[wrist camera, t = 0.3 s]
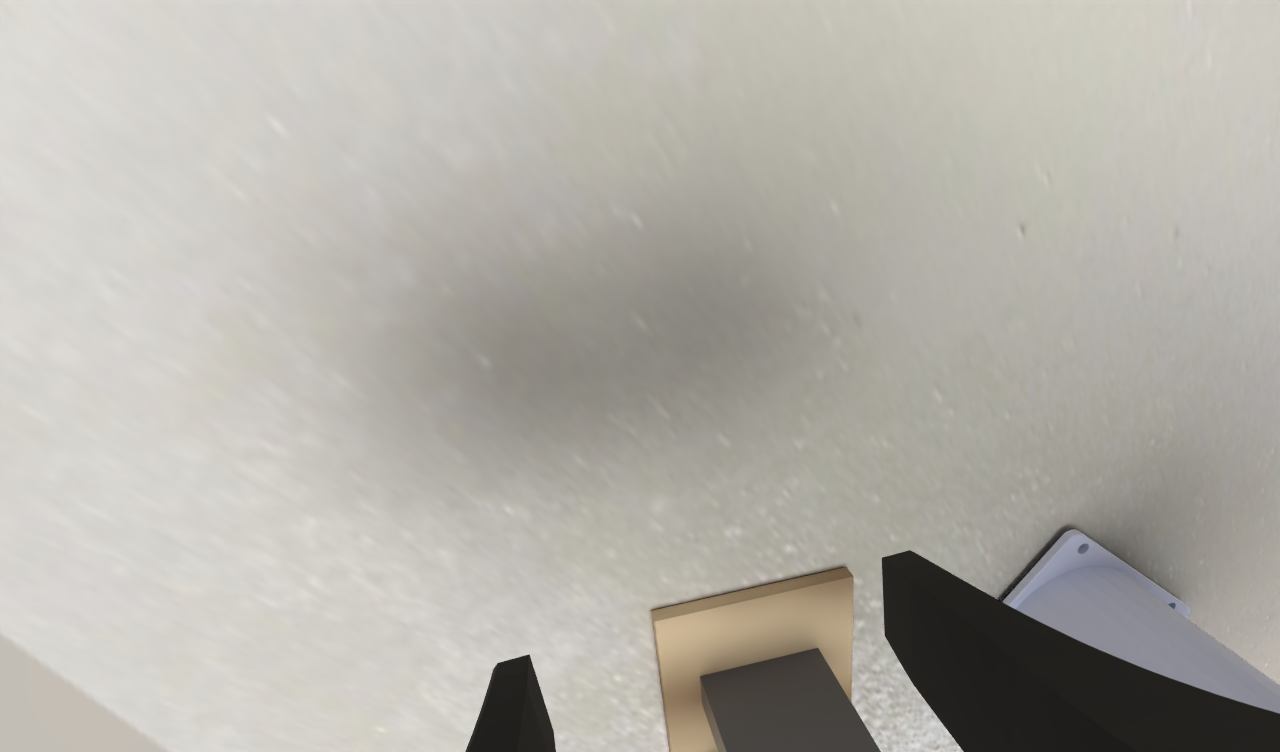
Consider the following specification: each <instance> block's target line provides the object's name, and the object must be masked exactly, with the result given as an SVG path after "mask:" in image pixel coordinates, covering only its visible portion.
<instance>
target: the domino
mask: <svg viewBox="0 0 1280 752" xmlns="http://www.w3.org/2000/svg"><path fill="white" fill-rule="evenodd" d="M700 683H701V693H702V703H703V708H704V711H705V714H706V717H707V720H708V723H709V726H710V729H711V731H712V734H713V737H714V740H715V743H716V746H717V749H718V752H880V750H879V748H878V747H877V745H876V743H875V742H874V740H873V738H872V737H871V735H870V733H869V732H868V730H867V728H866V727H865V725H864V723H863V722H862V720H861V718H860V717H859V715H858V713H857V712H856V710H855V708H854V707H853V705H852V703H851V702H850V700H849V698H848V697H847V695H846V693H845V692H844V690H843V688H842V687H841V685H840V683H839V682H838V680H837V678H836V677H835V675H834V673H833V672H832V670H831V668H830V667H829V665H828V663H827V662H826V660H825V658H824V657H823V655H822V653H821V652H820V650H819V648H814V649H810V650H806V651H802V652H798V653H794V654H790V655H785V656H781V657H777V658H773V659H769V660H765V661H761V662H756V663H752V664H748V665H744V666H740V667H736V668H732V669H727V670H723V671H719V672H715V673H711V674H707V675H703V676H700Z"/></svg>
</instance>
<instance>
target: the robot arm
mask: <svg viewBox="0 0 1280 752" xmlns="http://www.w3.org/2000/svg"><path fill="white" fill-rule="evenodd" d="M882 574H883V600H884V625H885V637H886V638H887V640H888V642H889V644H890V645H891V647H892V649H893V651H894V652H895V654H896V656H897V658H898V660H899V661H900V663H901V665H902V666H903V668H904V670H905V671H906V673H907V675H908V676H909V678H910V680H911V681H912V683H913V684H914V686H915V687H916V688H917V690H918V691H919V693H920V694H921V695H922V697H923V698H924V699H925V701H926V702H927V703H928V705H929V706H930V707H931V709H932V710H933V711H934V713H935V714H936V715H937V717H938V718H939V719H940V721H941V722H942V723H943V725H944V726H945V727H946V729H947V730H948V731H949V733H950V734H951V735H952V737H953V738H954V739H955V741H956V742H957V743H958V745H959V746H960V747H961V749H962V750H963V751H964V752H1280V685H1279V684H1277V683H1276V682H1275V681H1273V680H1272V679H1270V678H1269V677H1268V676H1266V675H1265V674H1263V673H1262V672H1261V671H1259V670H1258V669H1256V668H1255V667H1254V666H1252V665H1251V664H1249V663H1248V662H1247V661H1245V660H1244V659H1243V658H1241V657H1240V656H1238V655H1237V654H1236V653H1234V652H1233V651H1231V650H1230V649H1229V648H1227V647H1226V646H1224V645H1223V644H1222V643H1220V642H1219V641H1217V640H1216V639H1215V638H1213V637H1212V636H1211V635H1209V634H1208V633H1206V632H1205V631H1204V630H1202V629H1201V628H1199V627H1198V626H1197V625H1195V624H1194V623H1192V622H1191V621H1190V620H1188V619H1187V618H1188V616H1189V615H1190V607H1189V606H1188V605H1186V604H1185V603H1183V602H1182V601H1180V600H1179V599H1177V598H1176V597H1175V596H1173V595H1172V594H1170V593H1169V592H1167V591H1166V590H1164V589H1163V588H1161V587H1160V586H1159V585H1157V584H1156V583H1154V582H1153V581H1151V580H1150V579H1148V578H1147V577H1145V576H1144V575H1142V574H1141V573H1140V572H1138V571H1137V570H1135V569H1134V568H1132V567H1131V566H1129V565H1128V564H1126V563H1125V562H1124V561H1122V560H1121V559H1119V558H1118V557H1116V556H1115V555H1113V554H1112V553H1110V552H1109V551H1108V550H1106V549H1105V548H1103V547H1102V546H1100V545H1099V544H1097V543H1096V542H1094V541H1093V540H1091V539H1090V538H1089V537H1087V536H1086V535H1084V534H1083V533H1081V532H1080V531H1078V530H1076V529H1072V530H1069V531H1067V532H1065V533H1064V534H1063V535H1062V536H1061V537H1060V538H1059V539H1058V540H1057V542H1056V543H1055V544H1054V545H1053V546H1052V547H1051V548H1050V549H1049V550H1048V552H1047V553H1046V554H1045V555H1044V556H1043V557H1042V558H1041V559H1040V560H1039V562H1038V563H1037V564H1036V565H1035V566H1034V567H1033V568H1032V569H1031V570H1030V572H1029V573H1028V574H1027V575H1026V576H1025V577H1024V578H1023V579H1022V580H1021V582H1020V583H1019V584H1018V585H1017V586H1016V587H1015V588H1014V589H1013V590H1012V592H1011V593H1010V594H1009V595H1008V596H1007V597H1006V598H1005V599H1004V600H1003V602H1001V601H999V600H997V599H995V598H994V597H992V596H990V595H988V594H986V593H985V592H983V591H981V590H979V589H977V588H976V587H974V586H972V585H970V584H969V583H967V582H965V581H963V580H962V579H960V578H958V577H956V576H955V575H953V574H951V573H949V572H948V571H946V570H944V569H942V568H941V567H939V566H937V565H935V564H934V563H932V562H930V561H928V560H927V559H925V558H923V557H921V556H919V555H918V554H916V553H914V552H912V551H910V550H909V551H905V552H902V553H898V554H895V555H891V556H887V557H884V558H882ZM466 752H556V749H555V741H554V732H553V728H552V725H551V722H550V719H549V715H548V712H547V709H546V706H545V703H544V699H543V696H542V693H541V690H540V687H539V684H538V680H537V677H536V674H535V671H534V668H533V664H532V661H531V658H530V655H526V656H522V657H519V658H515V659H511V660H508V661H504V662H500V663H498V664H497V665H496V666H495V668H494V669H493V673H492V676H491V680H490V683H489V686H488V690H487V693H486V696H485V699H484V702H483V705H482V708H481V711H480V714H479V717H478V720H477V723H476V725H475V728H474V731H473V734H472V736H471V739H470V741H469V744H468V747H467V749H466Z"/></svg>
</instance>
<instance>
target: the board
mask: <svg viewBox="0 0 1280 752" xmlns="http://www.w3.org/2000/svg"><path fill="white" fill-rule="evenodd" d="M652 619H653V627H654V634H655V642H656V650H657V657H658V665H659V673H660V680H661V688H662V696H663V703H664V711H665V719H666V726H667V734H668V742H669V750H670V752H718V749H717V746H716V743H715V740H714V737H713V734H712V731H711V729H710V726H709V723H708V720H707V717H706V714H705V711H704V708H703V703H702V693H701V683H700V676H703V675H707V674H711V673H715V672H719V671H723V670H727V669H732V668H736V667H740V666H744V665H748V664H752V663H756V662H761V661H765V660H769V659H773V658H777V657H781V656H785V655H790V654H794V653H798V652H802V651H806V650H810V649H814V648H819V650H820V652H821V653H822V655H823V657H824V658H825V660H826V662H827V663H828V665H829V667H830V668H831V670H832V672H833V673H834V675H835V677H836V678H837V680H838V682H839V683H840V685H841V687H842V688H843V690H844V692H845V693H846V695H847V697H848V698H849V700H850V702H851V685H852V627H853V575H852V574H851V573H850V572H849V570H848V569H847V568H846V567H844V568H839V569H835V570H831V571H826V572H822V573H817V574H813V575H808V576H804V577H799V578H795V579H791V580H786V581H782V582H777V583H773V584H768V585H764V586H759V587H755V588H751V589H746V590H742V591H737V592H733V593H728V594H724V595H719V596H715V597H711V598H706V599H702V600H697V601H693V602H688V603H684V604H679V605H675V606H671V607H666V608H662V609H657V610H653V611H652Z"/></svg>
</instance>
